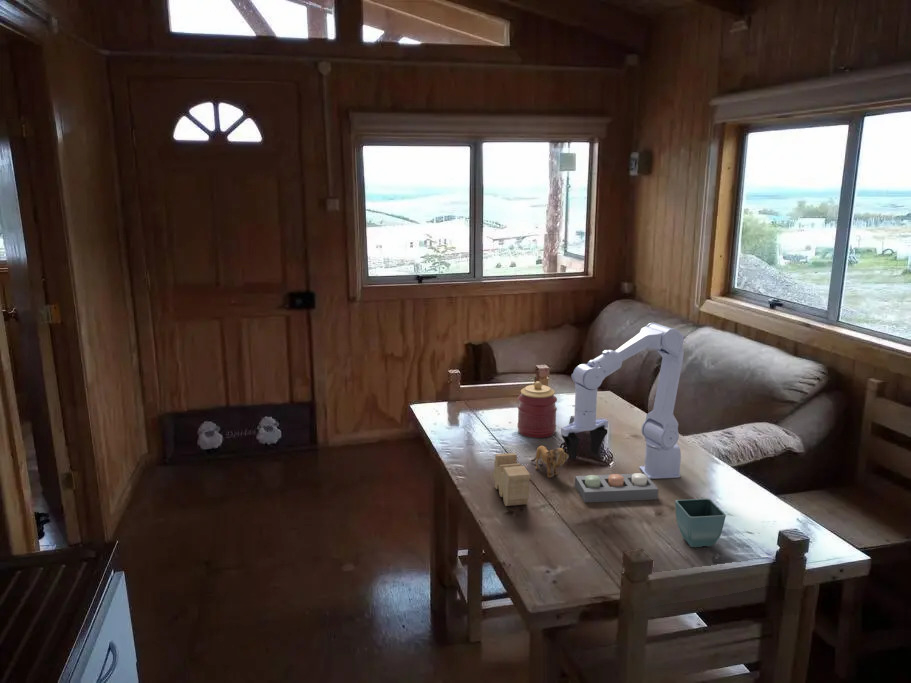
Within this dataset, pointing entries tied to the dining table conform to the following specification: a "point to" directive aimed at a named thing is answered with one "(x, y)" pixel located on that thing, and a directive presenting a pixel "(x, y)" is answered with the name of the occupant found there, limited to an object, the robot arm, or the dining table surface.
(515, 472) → the toy train
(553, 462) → the lion figurine
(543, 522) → the dining table surface
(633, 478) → the cream button
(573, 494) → the dining table surface
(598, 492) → the button panel
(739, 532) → the dining table surface
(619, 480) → the terracotta button
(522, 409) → the canister
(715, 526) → the flower pot
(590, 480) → the sage button
